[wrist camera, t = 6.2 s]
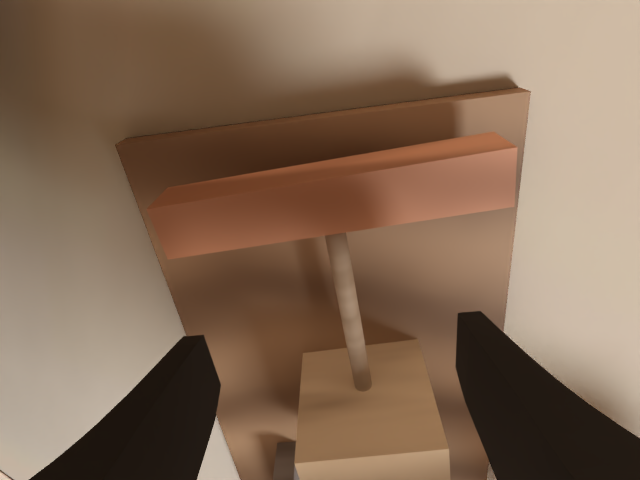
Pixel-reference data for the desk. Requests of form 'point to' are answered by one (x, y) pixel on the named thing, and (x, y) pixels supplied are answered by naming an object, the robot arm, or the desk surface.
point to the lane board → (316, 275)
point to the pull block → (350, 286)
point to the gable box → (4, 476)
